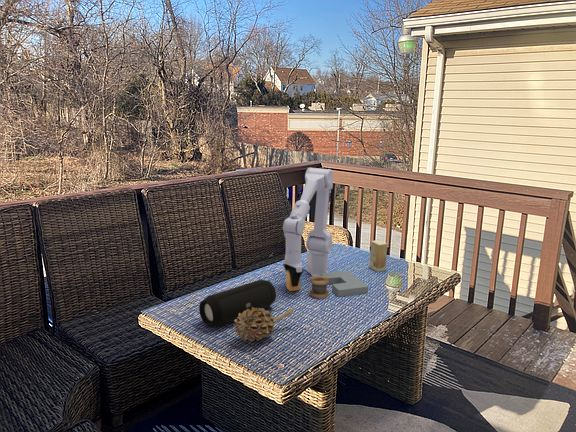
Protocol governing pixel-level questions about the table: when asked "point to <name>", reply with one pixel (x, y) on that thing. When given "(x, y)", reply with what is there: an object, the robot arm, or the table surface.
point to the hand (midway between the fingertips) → (292, 283)
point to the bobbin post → (319, 286)
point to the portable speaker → (236, 302)
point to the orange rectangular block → (288, 283)
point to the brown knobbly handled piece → (257, 323)
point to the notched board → (345, 283)
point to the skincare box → (378, 255)
